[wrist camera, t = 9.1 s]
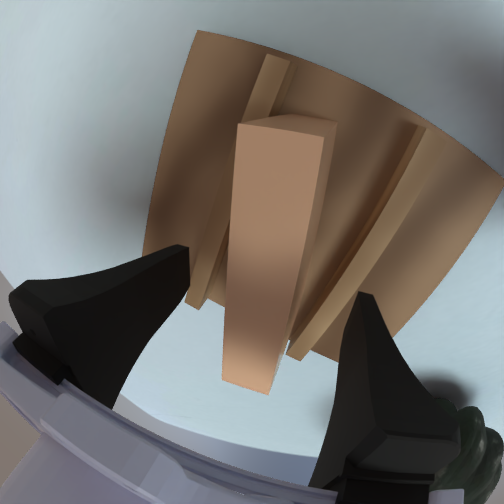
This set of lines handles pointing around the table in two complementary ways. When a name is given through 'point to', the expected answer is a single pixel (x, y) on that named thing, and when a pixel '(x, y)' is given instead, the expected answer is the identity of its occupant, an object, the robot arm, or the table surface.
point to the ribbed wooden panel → (337, 191)
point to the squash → (472, 457)
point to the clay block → (271, 239)
